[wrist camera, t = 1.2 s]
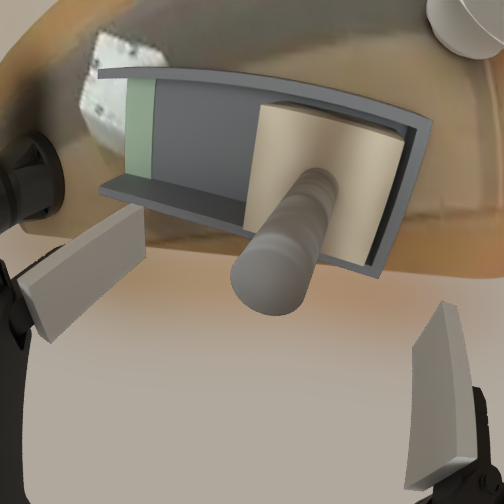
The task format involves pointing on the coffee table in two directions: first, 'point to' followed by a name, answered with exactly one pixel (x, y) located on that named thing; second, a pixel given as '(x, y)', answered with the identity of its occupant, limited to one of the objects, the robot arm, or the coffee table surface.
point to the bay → (236, 146)
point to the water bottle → (468, 26)
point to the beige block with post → (310, 199)
